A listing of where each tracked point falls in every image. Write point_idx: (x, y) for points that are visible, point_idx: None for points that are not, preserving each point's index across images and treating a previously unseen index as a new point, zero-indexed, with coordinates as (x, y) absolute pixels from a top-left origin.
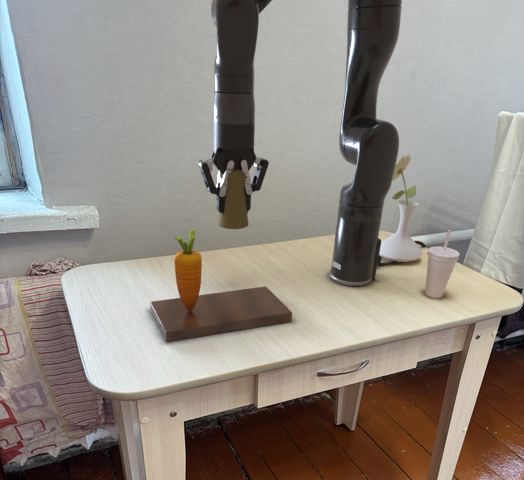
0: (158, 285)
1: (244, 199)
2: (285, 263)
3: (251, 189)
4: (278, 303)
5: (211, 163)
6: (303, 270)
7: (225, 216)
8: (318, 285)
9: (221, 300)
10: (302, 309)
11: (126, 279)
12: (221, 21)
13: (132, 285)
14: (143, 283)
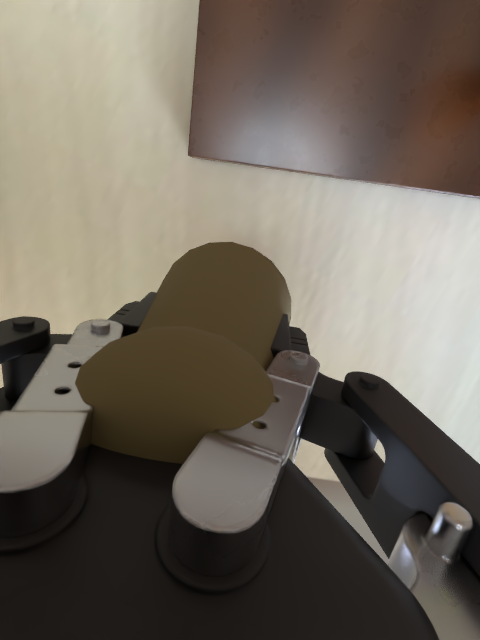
0: (417, 339)
1: (155, 306)
2: (52, 320)
3: (78, 329)
4: (213, 9)
5: (444, 605)
6: (24, 259)
7: (279, 299)
8: (24, 148)
9: (360, 116)
10: (139, 10)
11: (466, 403)
12: None
13: (473, 367)
14: (443, 366)
